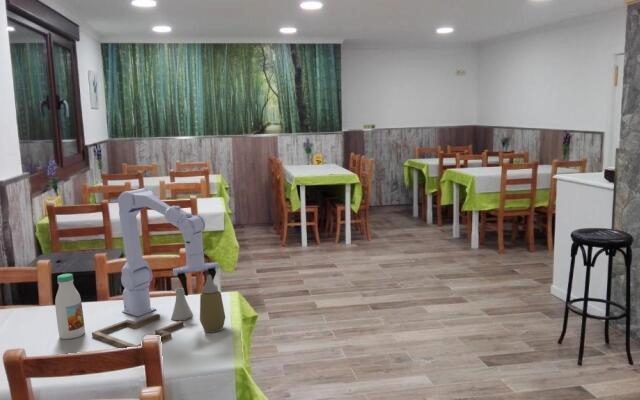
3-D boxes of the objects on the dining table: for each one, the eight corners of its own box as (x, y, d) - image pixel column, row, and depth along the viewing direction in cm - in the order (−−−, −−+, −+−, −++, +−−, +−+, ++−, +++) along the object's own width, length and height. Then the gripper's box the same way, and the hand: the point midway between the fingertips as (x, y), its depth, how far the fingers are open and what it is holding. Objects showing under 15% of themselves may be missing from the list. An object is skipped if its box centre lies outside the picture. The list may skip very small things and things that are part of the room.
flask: (187, 321, 186) (184, 292, 185) (167, 320, 188) (164, 292, 186) (196, 313, 193) (194, 286, 192) (177, 313, 195) (174, 285, 193)
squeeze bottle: (202, 325, 182) (197, 272, 179) (227, 323, 182) (223, 270, 180) (199, 335, 174) (194, 279, 171) (225, 333, 174) (220, 277, 172)
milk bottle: (59, 341, 174) (51, 280, 171) (58, 333, 181) (51, 274, 178) (86, 336, 178) (79, 275, 174) (84, 328, 184) (77, 270, 181)
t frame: (92, 337, 177) (91, 332, 176) (149, 315, 193) (148, 311, 193) (135, 353, 163) (135, 348, 163) (192, 328, 180) (192, 324, 179)
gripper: (174, 259, 176) (177, 300, 178) (219, 252, 181) (222, 292, 183) (170, 254, 182) (174, 294, 184) (214, 248, 188) (217, 286, 190)
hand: (198, 292), depth 184 cm, fingers open, 7 cm apart
